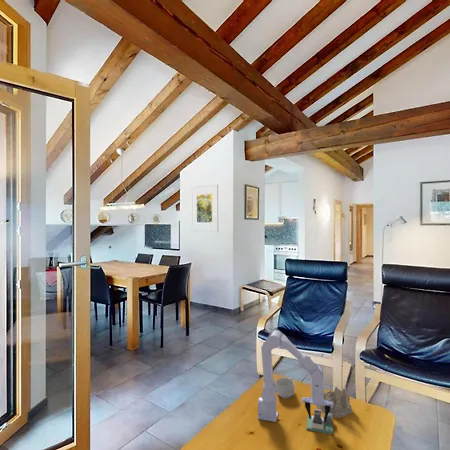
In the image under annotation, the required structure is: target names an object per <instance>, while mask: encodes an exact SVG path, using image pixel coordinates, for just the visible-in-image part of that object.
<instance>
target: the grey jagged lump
mask: <svg viewBox="0 0 450 450" xmlns="http://www.w3.org/2000/svg"><path fill="white" fill-rule="evenodd" d="M323 394H324V399H325V400H328V401H331V402H333V408H331V407H330V412H329V413H330V414H332V418H336V419H337V418H344V417H346V416H348V415H350V413H351V414H353V408H352V405H351V404H350V403H351V401H350V400H351V398H350V396H349V394H348V391H347V388H346V387H342V389H340V388H338V386H335V387H334V390H333V391H332V390H331V389H329V390H328V391H326V392H323ZM316 408H318V409H319V410H321V413H323V414H324V413H325V406H319V407H318V406H316Z"/></svg>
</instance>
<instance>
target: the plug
mask: <svg viewBox="0 0 450 450" xmlns="http://www.w3.org/2000/svg"><path fill="white" fill-rule="evenodd" d="M313 416H314V423H317V424H321V417H322V411H321V410H320V409H319V408H318V409H317V408H314V412H313Z"/></svg>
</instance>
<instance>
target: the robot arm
mask: <svg viewBox="0 0 450 450" xmlns="http://www.w3.org/2000/svg"><path fill="white" fill-rule="evenodd" d="M278 347H279V349H284V350H287V351H288V352H289V353H290V354H291V355H292V356H294V357H295V359H297V360H298V361H297V362H298V364H299V365H300V366H301V367H302V368H303V369H304V370H305V371H306V372H307V373H308V374H310V379H311V384H310V385H311V394H310V395H311V397H310V396H309V397H308V396H307V397H305V396H304V397H302V398H301V402H302V403H301V404H304V408H305V410H306V412H307V416H309V419H311V416H312V414H311V413H312V412H311V405H314V406H316V407H317V406H318V407H319V406H325V422H326V419H327V416H328V414H329V412H330V407H331V408H333V402H331V401H328V400H325V399H324V394H323V392H324V391H325V390H324V368H323V367H322V365H321V364H318V363H316V362H315V361H313V360H312V358H311V356H310V355H308V354H304V353H303V352H301V351H300V350H299V349H298V348H297V347H296V346H295V345H294V344H293V342H291V341H290V340H289V339H288V337H287V336H286V335H285V334H283V332H282V331H280V330H279V329H275V330H272V331H271V332H270V333H269V334H268V336H267V337H266V339H265V340H264V342H263V344H262V345H261V361H262V375H263V378H262V379H263V384H262V392H261V396H260V397H258V401H257V419H258V420H260V421H261V420H262V421H267V422H268V421H269V422H272V423H273V422H274V423H276V422H277V421H278V420H277V419H278V416H279V412H278V411H277V397H276V393H277V387H276V383H275V382H276V380H274V371H273V370H274V369H273V357H272V351H273V350H274V349H276V348H277V349H278ZM324 393H325V392H324ZM318 407H317V408H318Z"/></svg>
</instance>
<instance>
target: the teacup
mask: <svg viewBox="0 0 450 450" xmlns="http://www.w3.org/2000/svg"><path fill="white" fill-rule="evenodd" d="M275 385H276V387H277V392H276V393H277V395H278V396H279V397H281V398H283V399H290V398H292V396H293V395H295V381H294V380H293V378H292V377H290V376H289V377H288V378H287V377H281V378H278V379H276V380H275Z"/></svg>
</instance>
